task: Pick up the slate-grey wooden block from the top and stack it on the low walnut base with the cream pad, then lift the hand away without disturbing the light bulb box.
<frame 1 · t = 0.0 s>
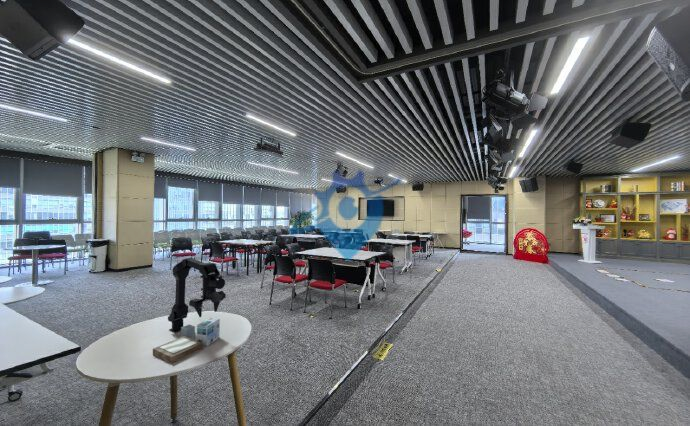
hand: (208, 314, 154), 15 cm above the table, tool pointing down, fingers open, 9 cm apart
light bulb box: (208, 341, 154), on the table
walnut base: (178, 351, 142), on the table
grey block: (187, 337, 157), on the table
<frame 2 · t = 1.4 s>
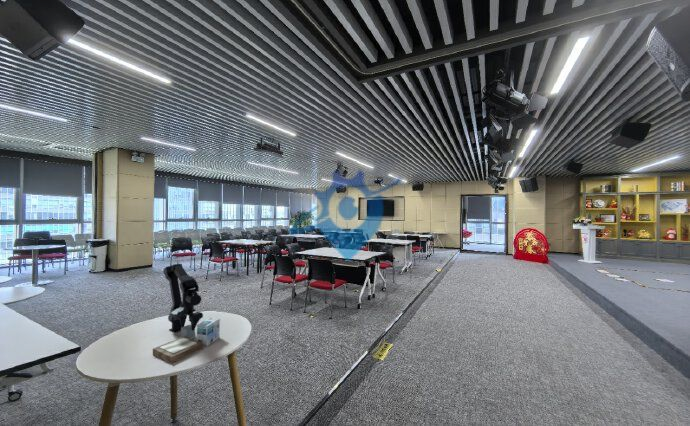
hand: (187, 328, 158), 5 cm above the table, tool pointing down, fingers open, 9 cm apart
nothing on the table moved.
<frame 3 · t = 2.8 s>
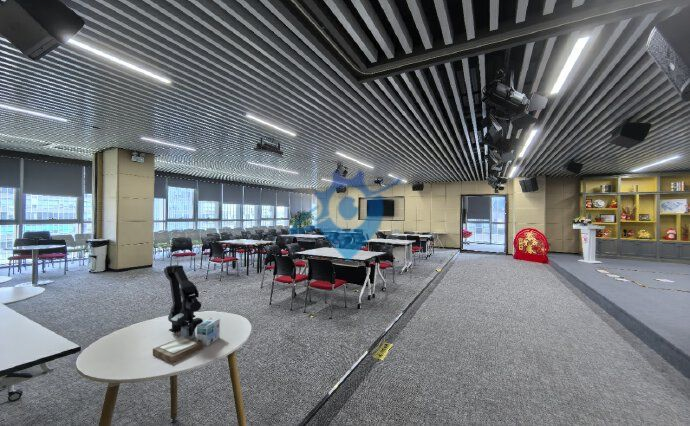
hand: (187, 334, 157), 2 cm above the table, tool pointing down, fingers closed on grey block, 5 cm apart
grey block: (187, 337, 157), on the table, touching gripper
everything else where it was.
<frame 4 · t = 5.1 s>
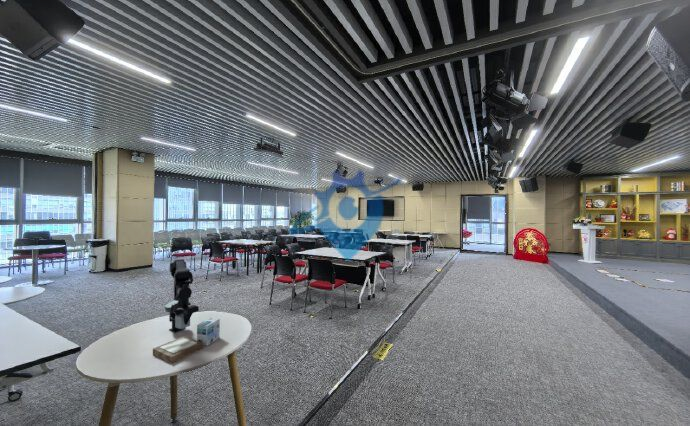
hand: (182, 323, 147), 12 cm above the table, tool pointing down, fingers closed on grey block, 5 cm apart
grey block: (182, 326, 147), point 11 cm above the table, touching gripper
everything else where it was.
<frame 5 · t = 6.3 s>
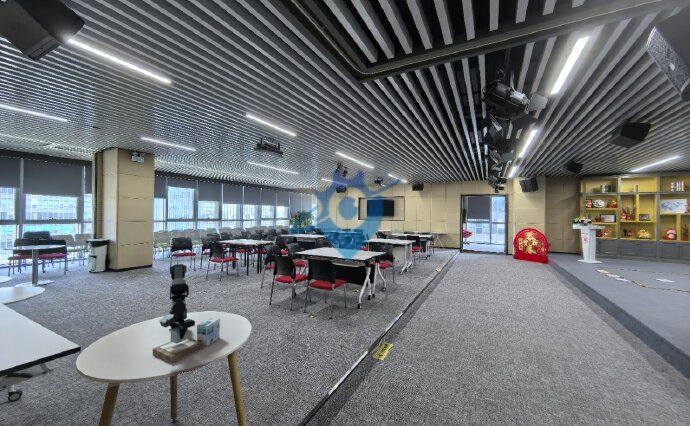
hand: (178, 337, 142), 7 cm above the table, tool pointing down, fingers closed on grey block, 5 cm apart
grey block: (178, 340, 142), point 6 cm above the table, touching gripper
everything else where it was.
when the fingers open (6 cm above the table, at t = 7.3 s): grey block drops 1 cm, resting on walnut base.
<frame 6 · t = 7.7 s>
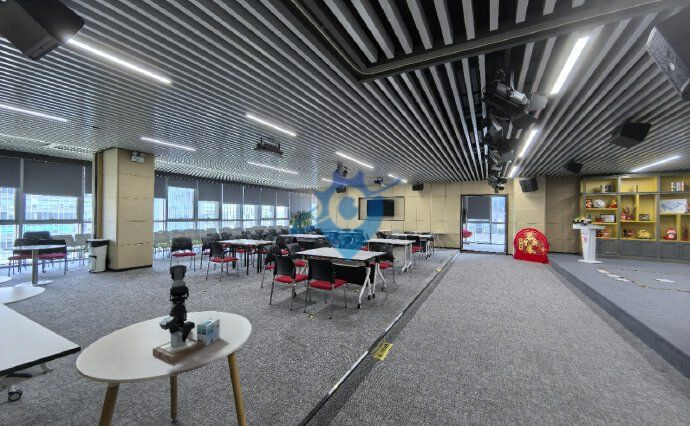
hand: (178, 339, 142), 6 cm above the table, tool pointing down, fingers open, 9 cm apart
grey block: (178, 344, 142), point 3 cm above the table, touching walnut base
everything else where it was.
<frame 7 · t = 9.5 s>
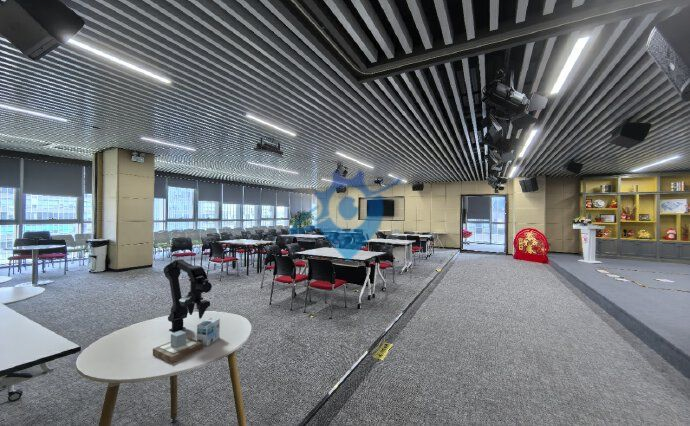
hand: (195, 316, 158), 12 cm above the table, tool pointing down, fingers open, 9 cm apart
nothing on the table moved.
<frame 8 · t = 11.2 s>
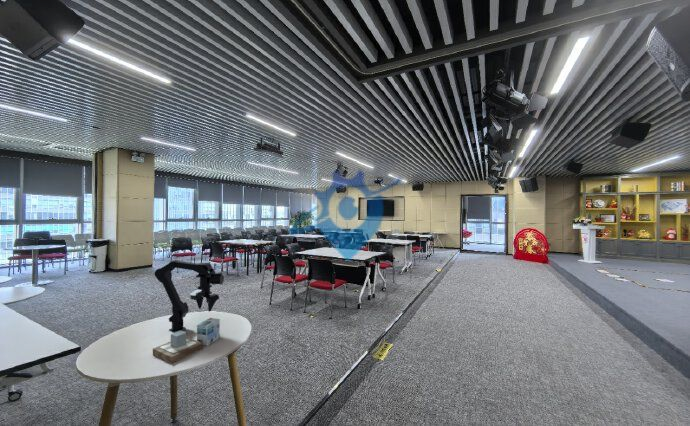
hand: (204, 309, 168), 12 cm above the table, tool pointing down, fingers open, 9 cm apart
nothing on the table moved.
at the end: grey block inside the target area on the walnut base (0.1 cm from its centre), point 3.4 cm above the walnut base's base; grey block tilted 0°; the gripper is holding nothing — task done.
